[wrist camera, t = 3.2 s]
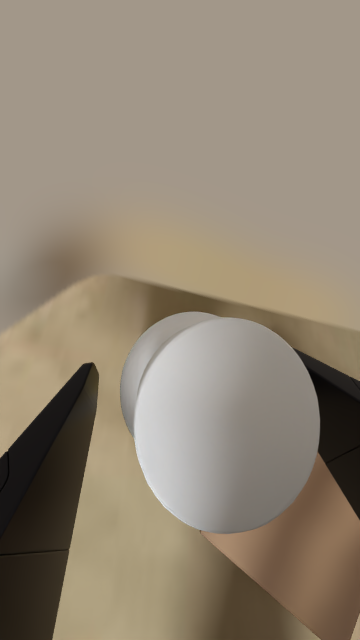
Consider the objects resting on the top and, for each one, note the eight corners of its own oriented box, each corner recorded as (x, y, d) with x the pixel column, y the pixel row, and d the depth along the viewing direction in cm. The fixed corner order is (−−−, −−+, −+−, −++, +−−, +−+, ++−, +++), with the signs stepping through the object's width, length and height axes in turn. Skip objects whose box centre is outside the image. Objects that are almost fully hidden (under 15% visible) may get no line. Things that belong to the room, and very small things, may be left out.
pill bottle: (211, 393, 15) (386, 526, 4) (141, 409, 14) (101, 674, 3) (200, 325, 16) (314, 274, 5) (132, 334, 15) (74, 295, 4)
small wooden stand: (347, 445, 17) (406, 475, 13) (289, 572, 14) (343, 659, 10) (262, 367, 16) (296, 373, 13) (186, 480, 14) (200, 533, 10)
